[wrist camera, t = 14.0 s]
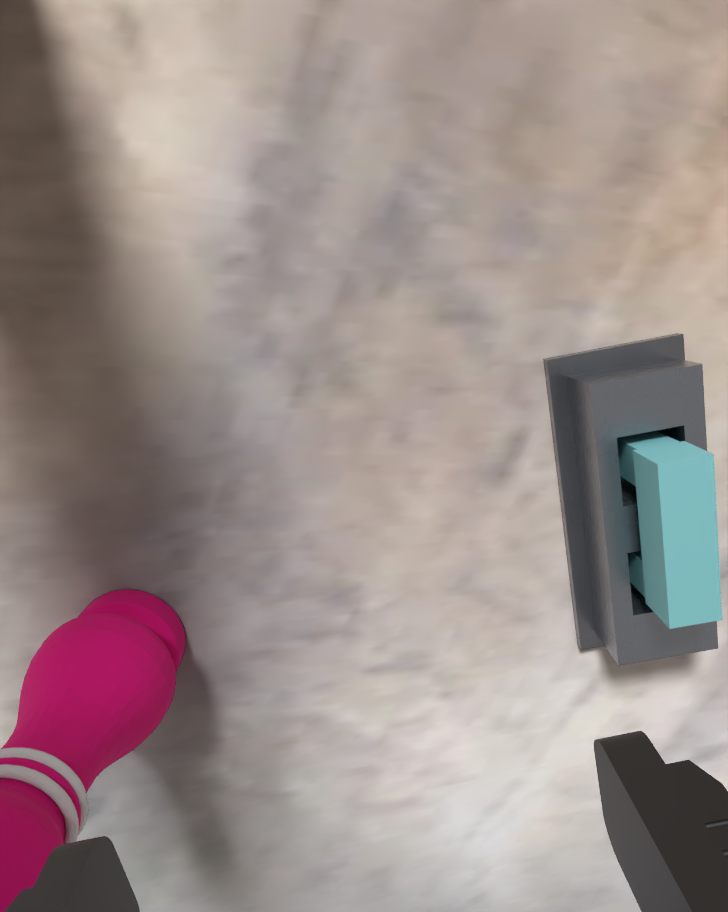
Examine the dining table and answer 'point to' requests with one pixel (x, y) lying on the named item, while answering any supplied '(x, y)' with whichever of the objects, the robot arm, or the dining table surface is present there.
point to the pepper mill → (81, 722)
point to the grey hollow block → (618, 484)
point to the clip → (674, 527)
